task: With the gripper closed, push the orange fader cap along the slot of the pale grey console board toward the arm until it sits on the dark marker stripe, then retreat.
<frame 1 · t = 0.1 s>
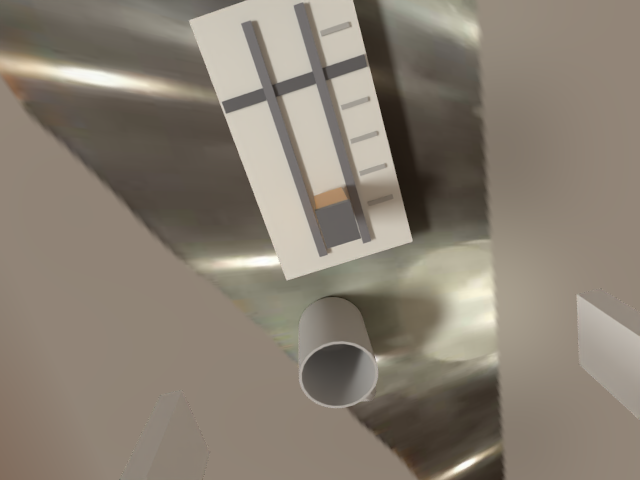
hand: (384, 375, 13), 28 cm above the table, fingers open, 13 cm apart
fader cap: (335, 215, 34), point 6 cm above the table, slide at 6.0 cm
console: (311, 139, 38), on the table
cup: (338, 331, 45), on the table
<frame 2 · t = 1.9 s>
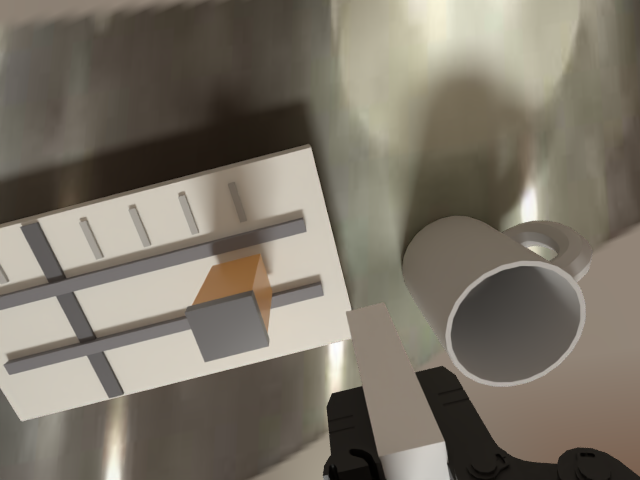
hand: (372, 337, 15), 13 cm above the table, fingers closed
fader cap: (236, 301, 21), point 6 cm above the table, slide at 6.0 cm
console: (165, 280, 27), on the table
cup: (465, 250, 28), on the table
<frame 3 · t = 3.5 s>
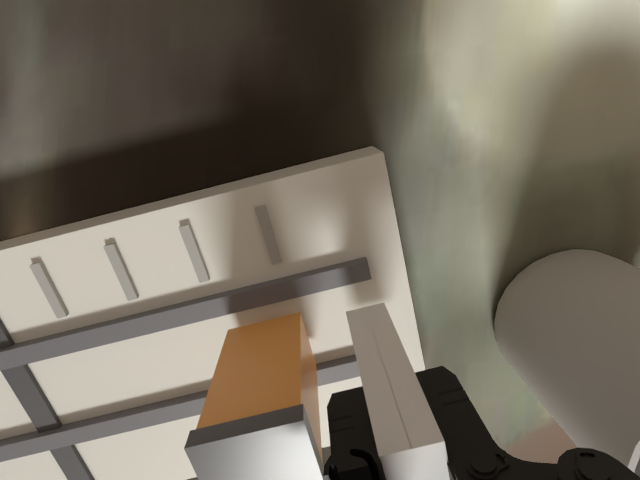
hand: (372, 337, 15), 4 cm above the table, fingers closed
fader cap: (267, 397, 13), point 6 cm above the table, slide at 5.9 cm, touching gripper
console: (161, 337, 20), on the table
cup: (581, 295, 20), on the table
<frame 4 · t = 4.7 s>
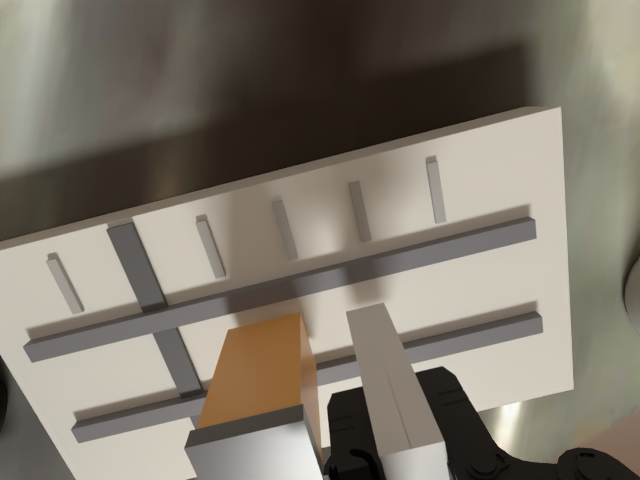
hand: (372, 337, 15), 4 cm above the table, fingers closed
fader cap: (267, 397, 13), point 6 cm above the table, slide at -0.8 cm, touching gripper
console: (292, 305, 19), on the table
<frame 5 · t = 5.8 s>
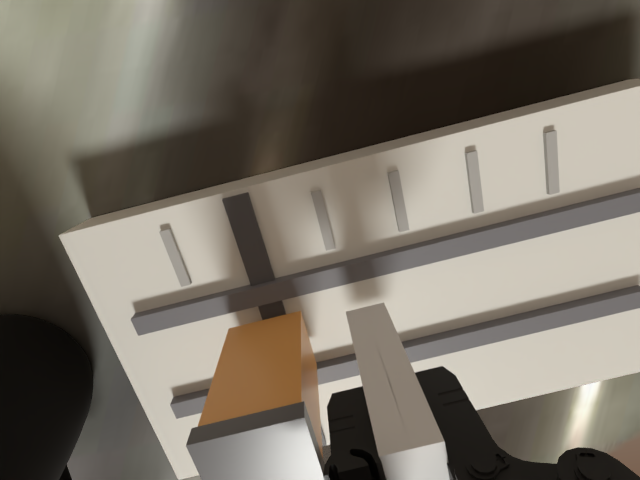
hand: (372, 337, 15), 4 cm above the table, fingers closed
fader cap: (268, 395, 14), point 6 cm above the table, slide at -5.3 cm, touching gripper
console: (382, 282, 19), on the table
mug: (48, 389, 21), on the table
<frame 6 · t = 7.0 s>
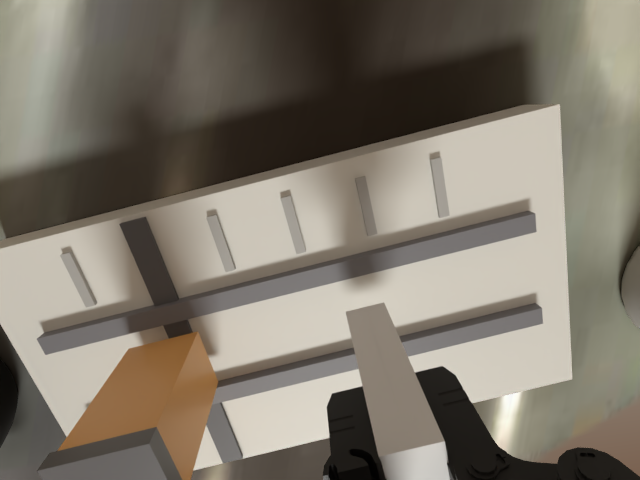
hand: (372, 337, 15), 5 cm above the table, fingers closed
fader cap: (150, 417, 14), point 6 cm above the table, slide at -5.4 cm
console: (298, 299, 20), on the table
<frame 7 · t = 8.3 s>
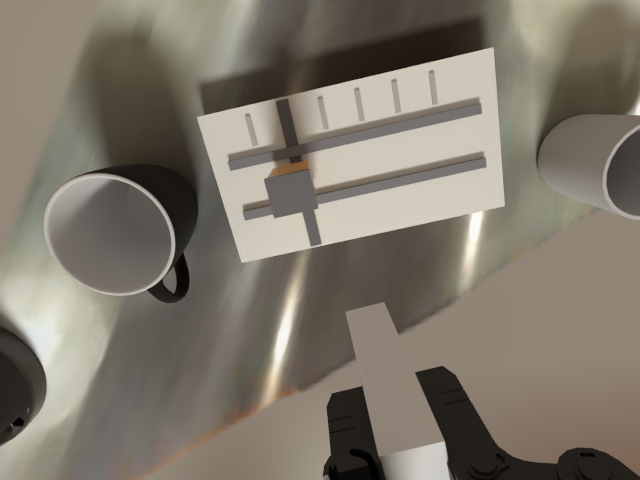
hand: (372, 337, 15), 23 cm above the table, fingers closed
fader cap: (293, 186, 30), point 6 cm above the table, slide at -5.4 cm
console: (354, 159, 36), on the table
cup: (586, 146, 36), on the table
mug: (170, 217, 37), on the table
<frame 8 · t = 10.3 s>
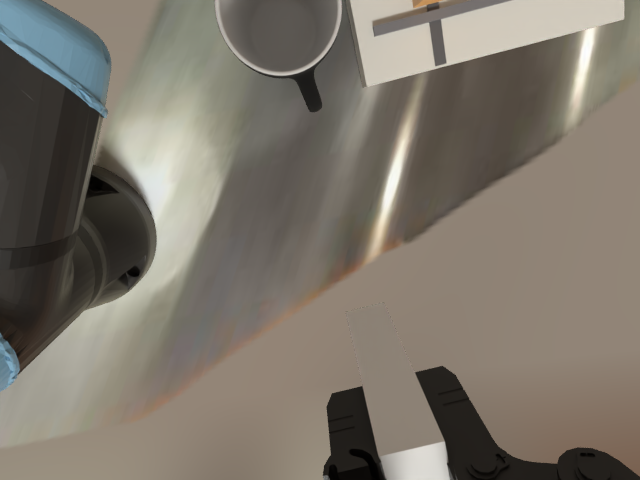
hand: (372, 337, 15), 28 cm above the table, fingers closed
mug: (290, 49, 38), on the table
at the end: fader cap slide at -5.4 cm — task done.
